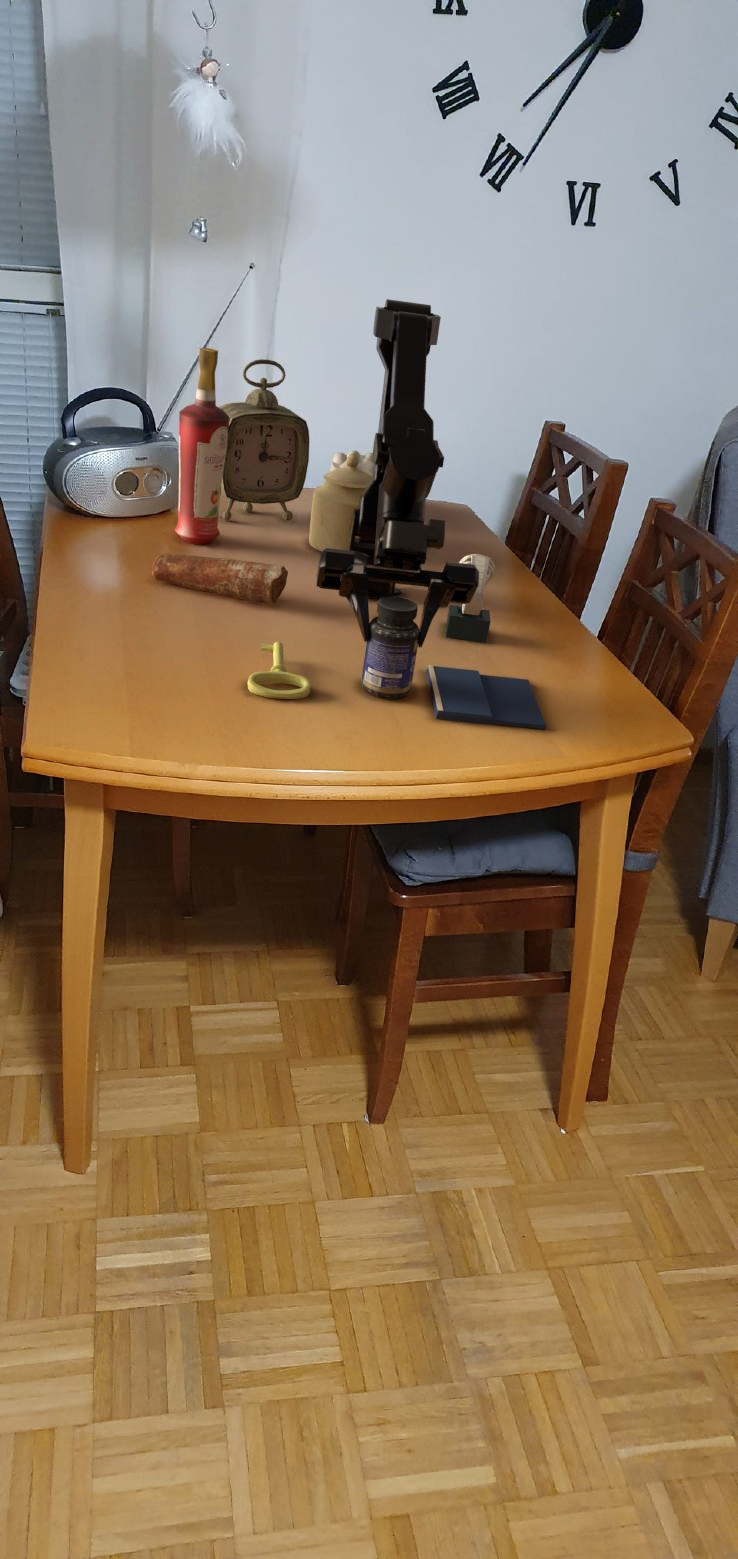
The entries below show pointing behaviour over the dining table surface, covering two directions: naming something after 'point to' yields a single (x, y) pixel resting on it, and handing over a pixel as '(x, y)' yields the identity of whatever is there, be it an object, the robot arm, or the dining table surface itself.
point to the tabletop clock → (264, 449)
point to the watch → (472, 606)
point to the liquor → (201, 457)
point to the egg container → (363, 465)
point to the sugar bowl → (336, 505)
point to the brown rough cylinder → (223, 576)
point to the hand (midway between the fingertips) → (393, 643)
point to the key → (278, 677)
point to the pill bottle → (391, 649)
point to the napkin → (483, 698)
